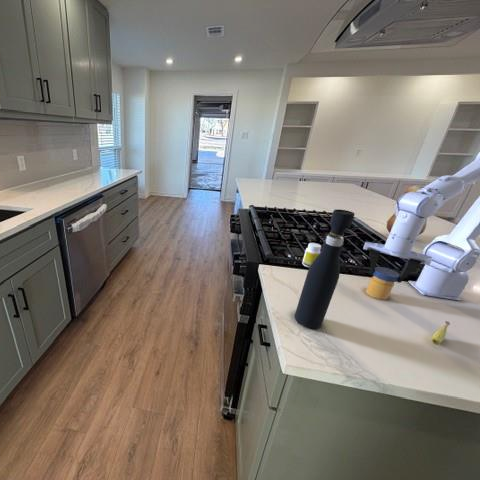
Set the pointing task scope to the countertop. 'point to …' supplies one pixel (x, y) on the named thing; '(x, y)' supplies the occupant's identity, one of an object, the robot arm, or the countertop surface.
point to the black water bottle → (323, 274)
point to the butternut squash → (393, 218)
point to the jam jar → (379, 288)
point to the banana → (440, 334)
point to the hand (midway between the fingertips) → (384, 277)
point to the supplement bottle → (311, 254)
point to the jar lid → (386, 274)
